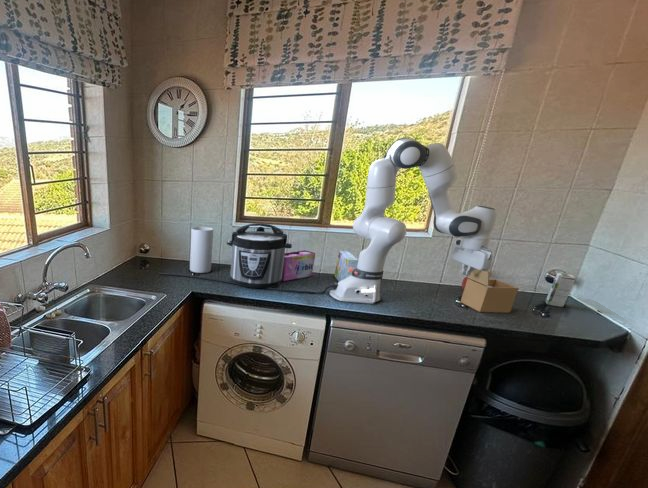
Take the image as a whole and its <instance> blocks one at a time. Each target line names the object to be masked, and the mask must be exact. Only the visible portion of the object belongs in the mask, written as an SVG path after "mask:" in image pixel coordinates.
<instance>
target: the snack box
mask: <svg viewBox="0 0 648 488" xmlns="http://www.w3.org/2000/svg"><path fill="white" fill-rule="evenodd" d="M358 259H359V258H357V257H356V256H355V255H354V254H352V253H351V252H350V251H344V250H339V251H338V255H337V260H336V265H335V270H334V275H333V276H334V278H335V279H336V281H337V282H339V281H341V280H343V279H345V278H347V277H349V276H350V275H352V272H349V271H348V269H349V268H353V269H355V268H356V267H357V264H358Z"/></svg>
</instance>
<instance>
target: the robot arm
mask: <svg viewBox="0 0 648 488" xmlns="http://www.w3.org/2000/svg"><path fill="white" fill-rule="evenodd" d="M413 168H418V169H419V170H420V173H421V177H422V179H423V182H424V184H425V186H426V189H427V193H428V197H429V200H430V204H431V207H432V210H433V222H432V223H433V228H434V230H435V231H436V232H438V233H441V234H445V235H448V236H452V237H455V238H459V239H455V240H454V246H453V248H452V251H451V257H450V258H451V260H452V261H455V262H457V263H459V264H461V267H462V272H461V275H464V276H465V277H468V276H470V275H471V272H472V271H473V270H474V269H478V270H483V271H487V272H488V271H489V270H490V269H491V267H492V264H493V263H492V262H493V251H492V249H491V248H489V244H490V240H491V234H492V232H493V230H494V227H495V225H496V221H497V216H498V213H497V212H498V211H497V210H496V209H495V208H493V207H489V206H485V205H476V206H474V207H473V208H471V209H469V210H467V211H466V210H465V211H463V212H457V211H455V210H454V209H453V208H452V205H451V202H450V198H449V195H448V190H449V188H451V187H452V186H453V185H454V184H455V183H456V181H457V179H458V175H457V174H458V173H457V170H456V169H457V168H456V165H455V163H454V160H453V158H452V156H451V154H450V152H449V150H448V148H447V147H446V145H444V144H443V143H441V142H433V143H430V144H428V145H423V144H422V143H420V142H419V141H418V140H416V139H414V138H410V137H400V138H398V139H396V140H395V141H393V142H392V143H391V145H390V146H389V147H388V149H387V151H386V153H385V154H384V156H383V158H379V159H377V160H374V161H373V162H372V163H371V164H370V166H369V169H368V174H367V180H366V193H365V202H364V203H365V204H364V206H363V210H362V212H361V213H360V214H359V215H358V216H357V217H356V218H355V219H354V221H353V224H352V230H353V232H354V233H355V234H356V235H358V236H359V237H361V238H364V239H368V240H370V242H369V245H368V246H367V247H365V248H364V249H362V250H361V251H360V252H359V255H358V258H357V259H358V264H357V267H356V268H355V269H353V268H349V269H348V271H349V272H352V275H350V276H349V277H347V278H345V279H343V280H341V281H337V282H336V281H333V282H332V284H331V285H328V286H326V287H325V288H324V290H322V291H319V292H318V291H312V290H310V291H309V290H298V289H297V290H296V289H286V288H285V289H284V288H276V287H270V288H269V287H268V288H262V289H263V290H270V291H279V292H280V291H281V292H288V293H301V294H312V295H314V294H315V295H316V294H317V295H319V294H324V293H326V292H327V290H328V289H330V288H332V290H330V291H329V295H330V296H331V297H332V298H333V299H335V300H337V301H339V302H349V303H358V304H359V303H360V304H361V303H362V304H373V305H374V304H376V302H379V301H381V282H382V280H383V277H384V267H385V263H386V260H387V256H388V255H389V252H390V251H391V249H393V247H394V246H395V245H397V244H398V243H400V242H401V241H402V240H404V238H405V236H406V234H407V225H406V223H404V222H403V221H401V220H400V219H399V220H398V219H396V218H392V217H386V216H385V213H386V210H387V208H389V207H391V206H392V205H393V204H394V203H395V198H396V186H397V185H396V183H397V175H398V172H399V170H400V169H404V170H406V169H413ZM462 237H463V238H462ZM158 274H159V275H162V276H163V275H164V276H175V277H176V276H178V277H186V278H195V279H202V280H208V281H215V282H222V283H226V284H232V285H237V284H236V283H234V282H233V281H230V280H224V279H219V278H213V277H207V276H206V277H205V276H199V275H190V274H182V273H169V272H158Z"/></svg>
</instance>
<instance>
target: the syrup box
mask: <svg viewBox="0 0 648 488" xmlns="http://www.w3.org/2000/svg"><path fill="white" fill-rule="evenodd" d="M575 282H576V276H575V275H574V274H570V273H565V272H564V273H563V272H556V275H555V278H554V280H553V282H552V284H551V287H550V288H549V291H548V294H547V296H546V298H545V300H544V301H545V303H546V305H547V306H552V307H553V306H554V307H559V308H564V306H565V305H566V302H567V299H568V297H569V296H570V293H571V290H572V288H573V286H574V283H575Z"/></svg>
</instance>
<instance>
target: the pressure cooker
mask: <svg viewBox="0 0 648 488" xmlns="http://www.w3.org/2000/svg"><path fill="white" fill-rule="evenodd" d="M257 226H258V227H257ZM250 227H257V228H256V230H254V231H251V230H250V231H249V230H248V229H249V228H250ZM265 227H266V228H270V229H271V231H272V232H271V231H265V230H266V228H265ZM247 230H248V231H247ZM226 245H227V246H230V247H231V259H230V260H231V261H230V279H231V282H234V283H236V284H235V285H238V286H241V287H245V288H252V289H263V288H268V287H269V288H275V287H277V286H278V285H279V284H280V283H281V282H282V280H281V279H282V271H283V263H284V255H285V253H286V249H292V248H293V245H292V244H291V243H289V242H288V235H287V233H284V230H282V229H281V228H279V227H278V226H275V225H272V224H268V223H261V222H260V223H259V222H257V223H256V222H255V223H249V224H245V225H243V226H240V227H238V228H237V229H236V230H235V231H233V232H232V233H231V239H229V240H227V241H226Z"/></svg>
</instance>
